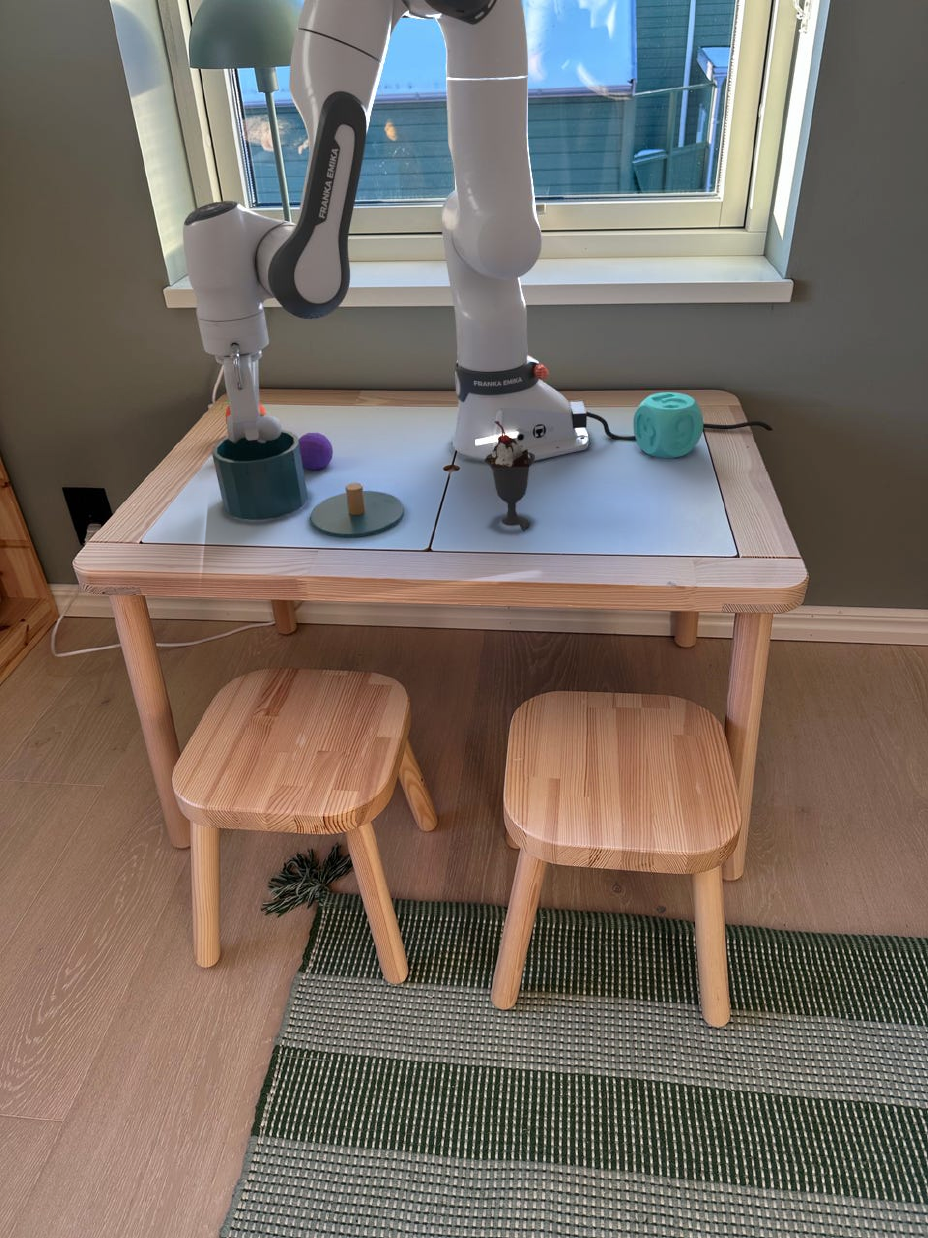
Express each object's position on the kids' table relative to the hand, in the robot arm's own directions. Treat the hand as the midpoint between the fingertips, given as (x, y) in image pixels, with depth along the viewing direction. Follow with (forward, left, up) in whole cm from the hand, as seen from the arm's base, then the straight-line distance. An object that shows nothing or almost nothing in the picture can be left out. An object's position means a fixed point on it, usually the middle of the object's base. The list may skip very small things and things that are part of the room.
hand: (252, 429), depth 132 cm
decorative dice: (-64, -1, -12) cm, 65 cm away
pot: (0, 0, -12) cm, 12 cm away
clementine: (+3, -28, -12) cm, 31 cm away
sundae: (-34, +17, -12) cm, 40 cm away
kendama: (-2, -14, -12) cm, 19 cm away
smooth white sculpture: (0, 0, -2) cm, 2 cm away
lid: (-13, +9, -11) cm, 19 cm away
